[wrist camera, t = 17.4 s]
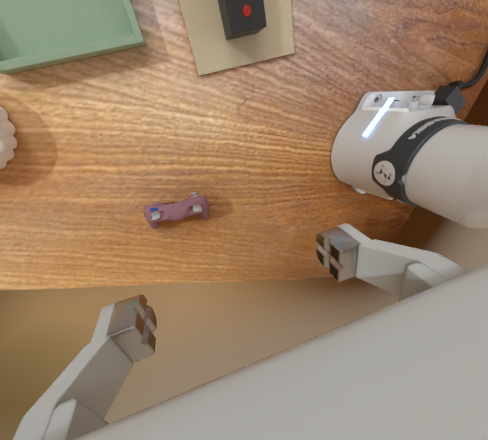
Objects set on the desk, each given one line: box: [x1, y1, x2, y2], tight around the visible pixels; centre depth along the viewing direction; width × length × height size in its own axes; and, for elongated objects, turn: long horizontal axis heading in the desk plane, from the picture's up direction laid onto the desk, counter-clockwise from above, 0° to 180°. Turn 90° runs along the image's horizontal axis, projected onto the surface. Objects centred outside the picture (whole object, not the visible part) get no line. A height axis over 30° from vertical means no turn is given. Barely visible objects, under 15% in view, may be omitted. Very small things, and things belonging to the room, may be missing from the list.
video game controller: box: [144, 192, 209, 229], centre depth 35 cm, size 10×5×7 cm, turn 94°
